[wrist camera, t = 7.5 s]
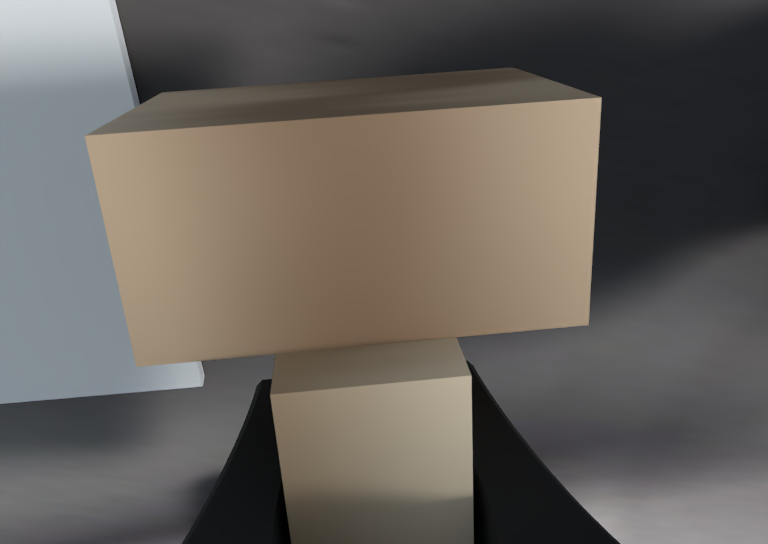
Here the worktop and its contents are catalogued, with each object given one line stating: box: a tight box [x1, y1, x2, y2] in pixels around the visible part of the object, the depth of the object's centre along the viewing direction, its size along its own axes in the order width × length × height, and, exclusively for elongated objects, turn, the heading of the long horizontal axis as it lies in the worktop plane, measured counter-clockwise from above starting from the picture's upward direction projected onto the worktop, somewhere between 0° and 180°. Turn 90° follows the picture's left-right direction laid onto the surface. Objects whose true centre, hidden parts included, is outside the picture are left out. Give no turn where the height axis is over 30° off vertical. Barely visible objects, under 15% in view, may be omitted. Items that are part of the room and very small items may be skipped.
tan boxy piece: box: [85, 67, 602, 544], centre depth 12 cm, size 6×14×5 cm, turn 2°
